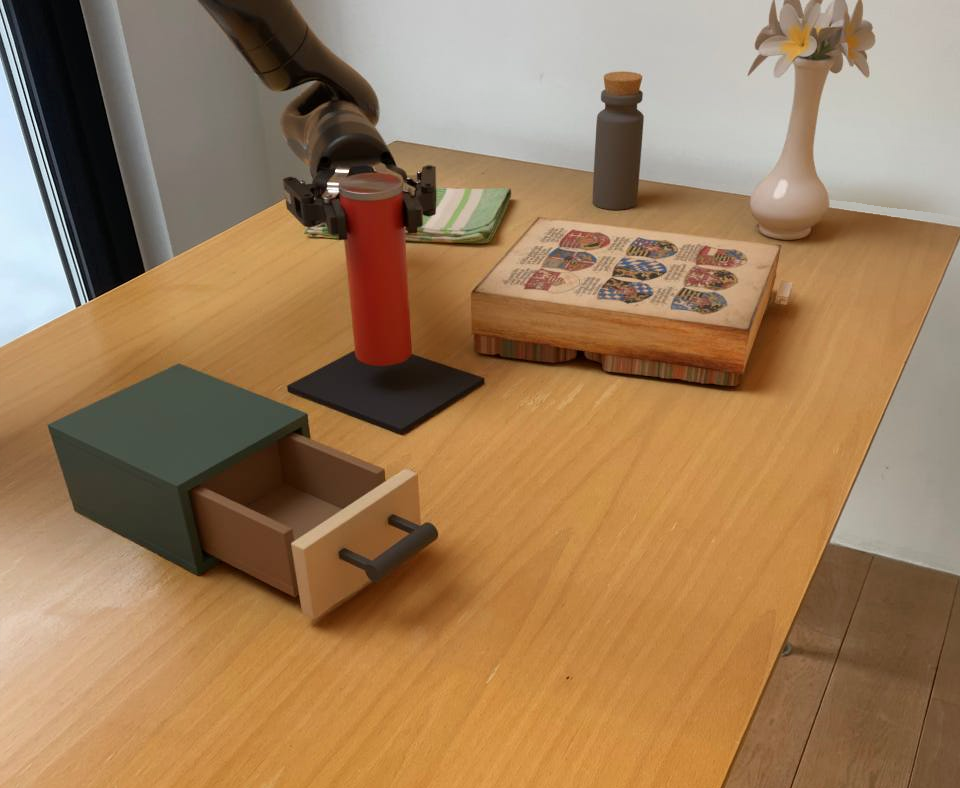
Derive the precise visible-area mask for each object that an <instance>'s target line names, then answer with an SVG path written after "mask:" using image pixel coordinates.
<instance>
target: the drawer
mask: <svg viewBox="0 0 960 788" xmlns="http://www.w3.org/2000/svg"><path fill="white" fill-rule="evenodd" d="M419 486H420V485H419V474H418V473H417V472H416V471H414V470H410V469H408V468H404V469H402V470H400V471H399V472H397V473H396V474H395V475H393V476H391V477H390V478H388V479H387V480H386V469H385V468H384V467H380V466H379V465H376V464H373V463H371V462H368V461H366V460H363V459H361V458H358V457H356V456H354V455H351V454H348V453H346V452H344V451H341V450H338V449H337V448H334V447H331V446H328V445H326V444H325V443H321V442H320V441H317V440H314V439H312V438H311V439H309V438H307V437H304V436H302V435H299V434H297V433H294V432H291V433H290V434H288V435H286V436H284V437H282V438H281V439H279V440H277V441H275V442H274V443H272V444H270V445H268V446H267V447H265V448H263V449H261V450H260V451H258V452H256V453H254V454H252V455H251V456H249V457H247V458H245V459H244V460H242V461H240V462H238V463H237V464H235V465H233V466H231V467H229V468H228V469H226V470H224V471H222V472H221V473H219V474H217V475H215V476H214V477H212V478H210V479H208V480H207V481H205V482H203V483H201V484H199V485H198V486H196V487H194V488H192V489H191V490H189V491H188V494H189V498H190V502H191V507H192V511H193V516H194V520H195V524H196V529H197V533H198V537H199V542H200V546H201V550H202V551H204V552H206V553H208V554H210V555H212V556H214V557H216V558H218V559H220V560H222V561H221V562H223V563H226V564H228V565H230V566H232V567H234V568H236V569H238V570H240V571H242V572H244V573H245V574H248V575H250V576H252V577H253V578H256V579H258V580H260V581H261V582H264V583H266V584H267V585H269V586H271V587H273V588H276V590H280V591H281V592H283V593H285V594H287V595H289V596H291V597H292V598H296V597H297V596H299V601H300V607H301V608H300V609H301V613H302V614H303V615H305V616H307V617H308V618H311V619H313V620H316V619H317V618H318V617H320V616H322V614H324V613H325V612H326V611H328V610H329V609H331V608H332V607H334V606H335V605H337V603H339V602H340V601H342V600H343V599H344V598H346V597H347V596H348V595H350V594H352V592H354V591H355V590H357V589H358V588H359V587H361V586H362V585H364V584H365V583H367V582H368V581H369V580H370V581H371V582H373V583H380V582H381V581H384V579H386V578H387V577H388V576H390V575H391V574H392V573H394V572H395V571H396V570H397V569H399V568H400V567H402V566H403V565H405V564H406V563H408V561H410V560H411V559H412V558H413V557H415V556H417V555H418V554H419V553H421V552H422V551H423V550H425V549H426V548H428V547H429V546H431V544H433V543H434V542H436V540H438V538H439V531H438V529H437V527H436V526H435V525H434V524H433V523H431V522H428V521H426V522H423V523H422V520H421V505H420V502H421V501H420V487H419Z"/></svg>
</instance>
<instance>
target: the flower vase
mask: <svg viewBox="0 0 960 788" xmlns="http://www.w3.org/2000/svg"><path fill="white" fill-rule="evenodd" d="M823 1H824V0H809V1H808V2H807V4H806V5H805V7H804V10H803V7H802V3H801V1H800V0H783V3H782V7H781V9H780V11H779V17H778V13H777V7H776V0H772V2H771V4H770V9H769V14H768V24H767V25H765V26H763V28H762V29H761V30H760V32H759V33H758V35H757V37H756V38H755V42H754V50H756V51H758V55H757V56H756V57H755V58H754V61H753V62H752V63H751V66H750V68H749V70H748V73H747V77H750V75H751V74H752V73H753V72H755V70H756V69H757V68H758V67H759V66H760V65H761V64H762V63H763V62H764V61H766V59H767V58H769V57H774V56H775V57H776V56H780V57H779V58H777V60H776V62H775V65H774V67H773V77H774V78H775V79H776V78H778V79H779V78H781V77H782V76H783V75H784V74H785V73H786V72H787V71H788V70H789V68H790V66H791V65H792V64H793V67H794V68H793V69H794V91H793V98H792V99H793V100H792V106H791V111H790V117H789V122H788V127H787V132H786V136H785V139H784V143H783V148H782V151H781V154H780V156H779V158H778V160H777V162H776V163H775V165H774V167H773V169H771V171H770V172H769V174H767V175H766V176H764V178H763V179H762V180H760V181H759V182H758V183H757V184H756V186H755V188H754V189H753V191H752V193H751V195H750V197H749V200H748V206H749V210H750V213H751V215H752V217H753V218H754V219H755V220H756V222H758V223H759V224H758V230H759V233H761V234H762V235H763V236H765V237H768V238H770V239H775V240H784V241H793V240H794V241H795V240H801V239H804V238H807V237H808V236H809V235H810V234H811V231H812V228H813V227H815V226H816V225H817V224H819V223H820V222H821V221H822V220H823V219H824V218H825V217H826V215H827V213H828V211H829V208H830V196H829V193H828V190H827V188H826V186H825V185H824V183H823V181H822V180H821V179H820V177H819V176H818V173H817V169H816V164H815V157H814V156H815V155H814V151H815V149H814V148H815V147H814V146H815V138H816V137H815V136H816V130H817V123H818V116H819V110H820V104H821V98H822V95H823V91H824V87H825V84H826V81H827V78H828V76H829V73H830V72H831V73H832V74H839V73H840V72H841V71H842V69H843V67H844V57H843V56H845V58H846V61H847V63H848V65H849V66H850V67H851V68H853V67H854V66H856V67H857V69H858V70H859V71H860V72H861V74H862V75H863V76H864V77H865V78H867V79H868V78H869V77H870V66H869V63H868V61H867V60H868V55H867V52H866V51H868V50H870V49H872V48H873V47H874V46H875V43H876V35H875V33H874V32H873V29H874V27H873V26H874V25H873V23H872V22H871V21H869V20H866V19H863V16H864V4H863V0H857V1H856V3H855V5H854V8H853V10H852V13H851V14H850V13H849V8H848V3H847V1H846V0H832V1H831V2H830V3H829V4H828V6H827V8H826V9H825V12H821V11H822V4H823ZM778 18H779V19H778Z"/></svg>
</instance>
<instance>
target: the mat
mask: <svg viewBox="0 0 960 788" xmlns="http://www.w3.org/2000/svg"><path fill="white" fill-rule="evenodd" d="M484 384H485V377H483V376H480V375H477V374H475V373H471V372H469V371H465V370H462V369H459V368H456V367H453V366H450V365H446V364H444V363H440V362H437V361H435V360H432V359H429V358H426V357H423V356H419V355H416V354H414V353H412V354H411V356H410V357H409V358H408V359H407V360H405V361H403V362H401V363H398V364H394V365H389V366H374V365H368V364H365V363H362V362H361V361H359V360H358V359H357V357H356V355H355V349H354V350H352V351H350V352H349V353H347V354H345V355H343V356H341V357H339V358H337V359H335V360H333V361H331V362H330V363H328V364H326V365H324V366H322V367H320V368H318V369H316V370H315V371H312V372H311V373H308V374H307V375H305V376H302V377H301V378H299V379H297V380H295V381H293V382H291V383H290V384H288V385H286V389H287V392H288V393H291V394H293V395H296V396H299V397H301V398H304V399H306V400H309V401H312V402H315V403H317V404H319V405H322V406H325V407H328V408H330V409H333V410H335V411H338V412H340V413H344V414H346V415H348V416H351V417H354V418H357V419H359V420H362V421H364V422H367V423H370V424H372V425H375V426H377V427H379V428H383V429H385V430H388V431H391V432H393V433H396V434H399V435H402V436H403V435H404V434H406V433H407V432H409V431H411V430H412V429H414V428H415V427H418V426H419V425H420V424H421V423H424V422H425V421H427V420H428V419H430V418H431V417H433V416H435V415H436V414H438V413H439V412H441V411H443V410H444V409H446V408H448V407H449V406H451V405H452V404H454V403H455V402H457V401H459V400H460V399H461V398H464V397H466V395H469V394H470V393H472V392H473V391H475V390H476V389H478V388H479V387H481V386H483V385H484Z"/></svg>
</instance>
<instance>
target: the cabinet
mask: <svg viewBox="0 0 960 788" xmlns="http://www.w3.org/2000/svg"><path fill="white" fill-rule="evenodd" d="M309 422H310V421H309V413H307V412H306V411H302V410H300V409H297V408H295V407H292V406H289V405H287V404H285V403H282V402H279V401H278V400H277V401H276V400H274V399H272V398H270V397H266V396H264V395H261V394H260V393H259V394H258V393H256V392H255V391H251V390H248V389H247V388H246V389H245V388H243V387H240V386H239V385H235V384H233V383H231V382H228V381H225V380H223V379H220V378H218V377H215V376H212V375H211V374H207V373H205V372H203V371H200V370H197V369H194V368H192V367H189V366H187V365H184V364H182V363H179V362H178V363H176V364H174V365H172V366H170V367H167V368H165V369H164V370H161V371H159V372H157V373H155V374H153V375H150V376H148V377H146V378H144V379H142V380H140V381H138V382H136V383H134V384H131V385H129V386H127V387H125V388H123V389H121V390H118V391H116V392H114V393H111V394H109V395H108V396H106V397H103V398H101V399H99V400H97V401H95V402H93V403H90V404H89V405H87V406H84V407H81V408H80V409H77V410H75V411H73V412H71V413H69V414H67V415H64V416H63V417H61V418H59V419H56V420H54V421H52V422H50V423H48V424H46V425H47V429H48V432H49V434H50V437H51V441H52V445H53V447H54V450H55V453H56V457H57V459H58V464H59V466H60V470H61V473H62V476H63V479H64V482H65V485H66V488H67V491H68V494H69V498H70V501H71V504H72V507H73V510H74V512H77V513H79V514H80V515H82V516H84V517H86V518H88V519H90V520H92V521H94V522H95V523H97V524H99V525H101V526H103V527H105V528H106V529H109V530H110V531H113V532H114V533H116V534H118V535H120V536H122V537H124V538H126V539H128V540H129V541H131V542H133V543H135V544H137V545H139V546H141V547H142V548H145V549H147V550H148V551H150V552H151V553H154V554H156V555H158V556H159V557H162V558H164V559H165V560H168V561H170V562H171V563H174V564H175V565H177V566H179V567H181V568H183V569H185V570H187V571H189V572H190V573H193V574H194V575H196V576H200V575H202V574H203V573H204V572H206V571H208V570H209V569H212V568H213V567H214V566H216V565H217V564H220V562H223V561H222V560H220V559H218V558H216V557H214V556H212V555H210V554H208V553H206V552H204V551H202V550H201V546H200V542H199V537H198V533H197V529H196V524H195V520H194V516H193V511H192V507H191V502H190V498H189V494H188V491H189V490H191V489H192V488H194V487H196V486H198V485H199V484H201V483H203V482H205V481H207V480H208V479H210V478H212V477H214V476H215V475H217V474H219V473H221V472H222V471H224V470H226V469H228V468H229V467H231V466H233V465H235V464H237V463H238V462H240V461H242V460H244V459H245V458H247V457H249V456H251V455H252V454H254V453H256V452H258V451H260V450H261V449H263V448H265V447H267V446H268V445H270V444H272V443H274V442H275V441H277V440H279V439H281V438H282V437H284V436H286V435H288V434H290V433H291V432H294V433H297V434H299V435H302V436H304V437H307V438H309V439H312V437H311V430H310V423H309Z"/></svg>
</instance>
